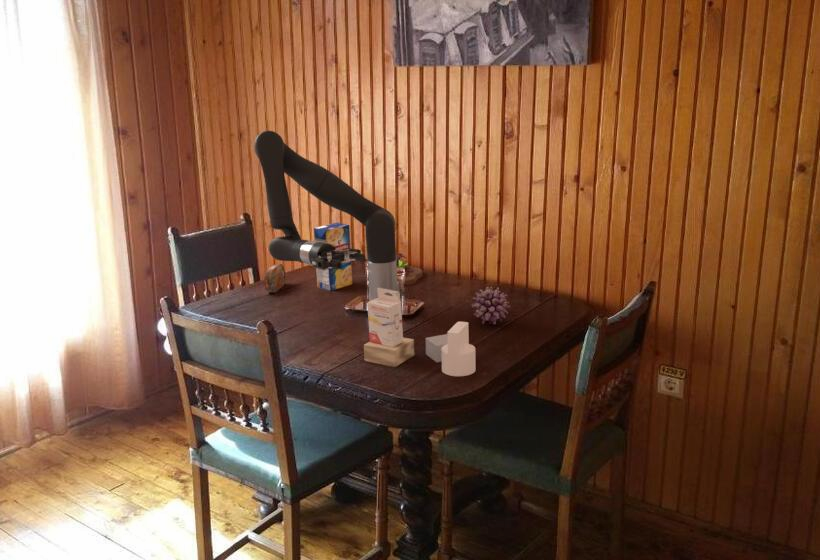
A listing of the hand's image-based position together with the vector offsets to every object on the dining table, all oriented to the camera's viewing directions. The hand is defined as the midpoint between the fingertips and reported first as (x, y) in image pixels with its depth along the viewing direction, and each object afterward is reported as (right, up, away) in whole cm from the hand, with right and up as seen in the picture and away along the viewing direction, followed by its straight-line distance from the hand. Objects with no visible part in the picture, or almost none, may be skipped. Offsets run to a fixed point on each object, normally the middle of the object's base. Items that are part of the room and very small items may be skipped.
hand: (352, 261), depth 230 cm
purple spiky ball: (+41, -19, +21) cm, 50 cm away
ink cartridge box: (+10, -23, -5) cm, 25 cm away
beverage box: (-11, -7, +65) cm, 67 cm away
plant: (+10, -5, +73) cm, 74 cm away
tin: (-32, -9, +64) cm, 72 cm away
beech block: (+10, -27, -3) cm, 29 cm away
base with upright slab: (+29, -29, -13) cm, 43 cm away
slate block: (+25, -27, -3) cm, 37 cm away
